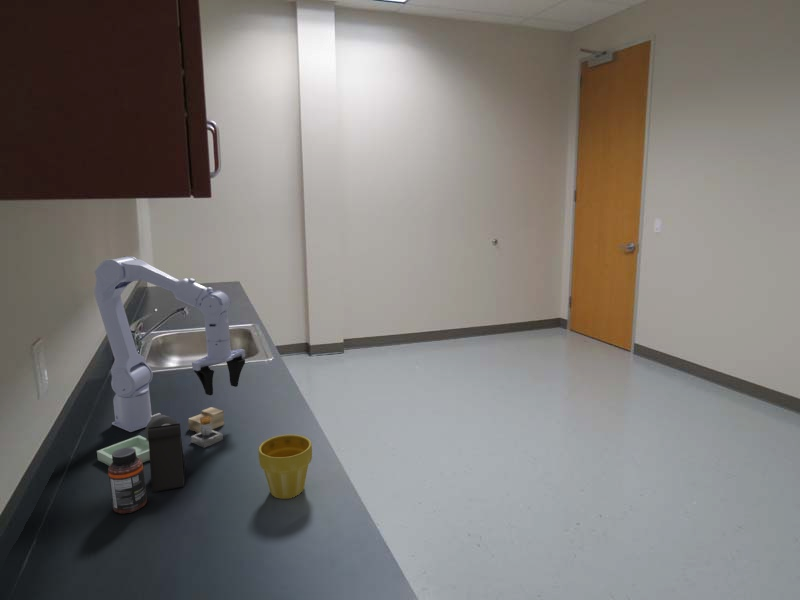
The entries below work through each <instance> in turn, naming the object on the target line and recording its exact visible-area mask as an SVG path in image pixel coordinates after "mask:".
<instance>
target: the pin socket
mask: <svg viewBox="0 0 800 600" xmlns="http://www.w3.org/2000/svg"><path fill="white" fill-rule="evenodd" d="M223 437H224V435H223V433H221V432H219V431H216V430H215V429H212V437H210V438H208V439H205V440H204V439H202V435H201V432H200V433H196V434H192V435H191V436H190V442H191V443H192V444H195V445H197V446H198V447H202V448H207V447H209V446H212V445H215V444H217V443H218V442H221V441H224V438H223Z"/></svg>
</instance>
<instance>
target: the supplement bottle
mask: <svg viewBox="0 0 800 600" xmlns="http://www.w3.org/2000/svg"><path fill="white" fill-rule="evenodd" d="M112 460H113V462H112V463H111V464H110V466H108V468H107V473H108V479H109V480H108V482H109V489H110V495H111V496H110V497H111V504H112V508H113V511H114V512H115V513H117V514H130V513H131V514H132V513H134V512H136V511H139V510H140V509H141V508H143V507H145V506H146V505H147V501H148V498H147V495H148V494H147V487H146V480H145V472H144V470H145V469H144V464H143V462H142V460H141V459H140V458H138V457H136V450H135V449H134V448H121V449H118V450H116V451H115V452H113V454H112Z"/></svg>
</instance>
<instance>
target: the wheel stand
mask: <svg viewBox="0 0 800 600" xmlns="http://www.w3.org/2000/svg"><path fill="white" fill-rule="evenodd" d="M172 424H178V422H177V420H176V419H175V418H173V417H171V416H168V415H165V414H162V413H160V412H158V413H155V414H153V415H152V416H150V421H149V423H148V424H147V426H146V427H145V431H144V436H145V437H144V438H146V439H147V440H148V429H149V428H150V427H157V426H165V425H172Z"/></svg>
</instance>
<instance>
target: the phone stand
mask: <svg viewBox="0 0 800 600" xmlns="http://www.w3.org/2000/svg"><path fill="white" fill-rule="evenodd" d="M181 432H182V431H181V423H177V424H172V425H165V426H157V427H150V428H149V429H148V440H149V452H150V460H149V463H150V464H149V466H150V484H151V485H150V486H151V493H152V494H153V493H158V492H164V491H170V490H175V489H181V488H184V486H185V474H186V464H185V456H184V449H183V439H182V433H181Z"/></svg>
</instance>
